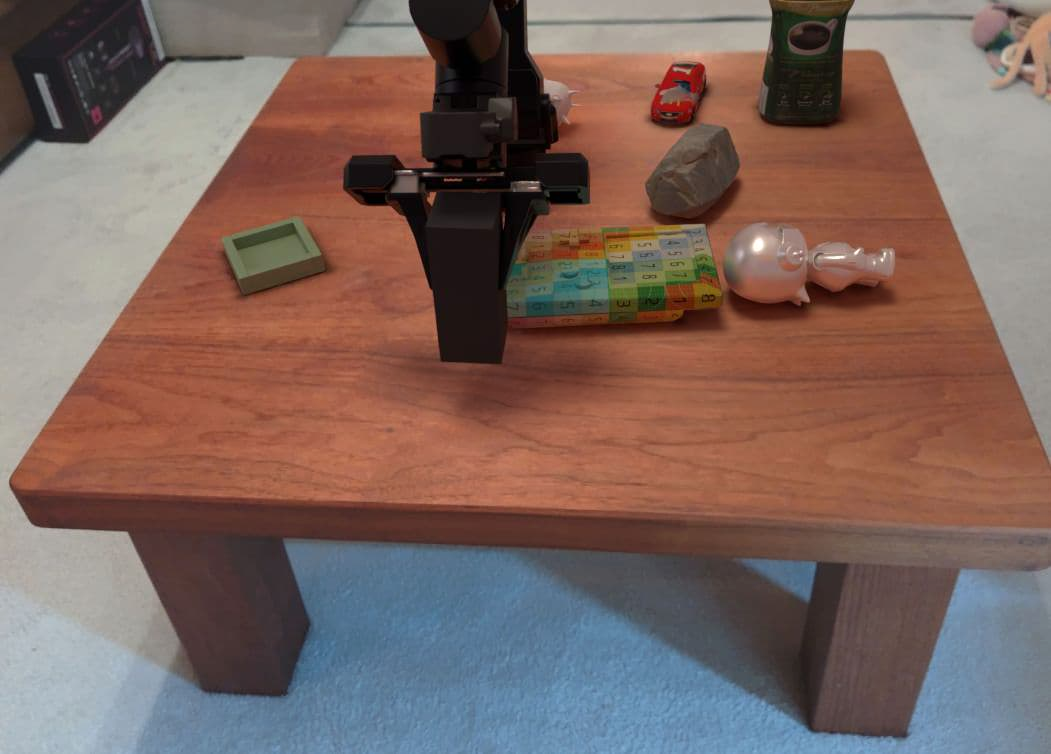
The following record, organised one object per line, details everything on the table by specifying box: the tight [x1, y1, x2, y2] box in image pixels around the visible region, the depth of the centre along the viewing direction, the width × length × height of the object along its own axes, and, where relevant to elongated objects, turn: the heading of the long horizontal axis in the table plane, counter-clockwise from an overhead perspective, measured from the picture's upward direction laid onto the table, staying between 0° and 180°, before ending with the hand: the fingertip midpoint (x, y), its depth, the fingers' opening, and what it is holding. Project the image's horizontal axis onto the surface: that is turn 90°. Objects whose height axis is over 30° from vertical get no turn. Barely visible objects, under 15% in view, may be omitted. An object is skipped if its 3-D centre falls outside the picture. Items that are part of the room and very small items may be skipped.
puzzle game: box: [506, 223, 724, 329], centre depth 95 cm, size 12×5×20 cm
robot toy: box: [543, 77, 585, 127], centre depth 121 cm, size 15×9×14 cm
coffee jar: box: [758, 0, 856, 125], centre depth 116 cm, size 10×8×19 cm
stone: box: [644, 122, 741, 219], centre depth 106 cm, size 12×8×8 cm, turn 152°
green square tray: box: [220, 215, 326, 296], centre depth 103 cm, size 8×8×2 cm
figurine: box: [722, 221, 896, 307], centre depth 92 cm, size 11×7×15 cm
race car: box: [650, 60, 707, 124], centre depth 124 cm, size 13×5×4 cm, turn 161°
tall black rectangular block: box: [425, 191, 509, 365], centre depth 79 cm, size 5×5×13 cm
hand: (466, 289), depth 78 cm, fingers closed on tall black rectangular block, 5 cm apart
